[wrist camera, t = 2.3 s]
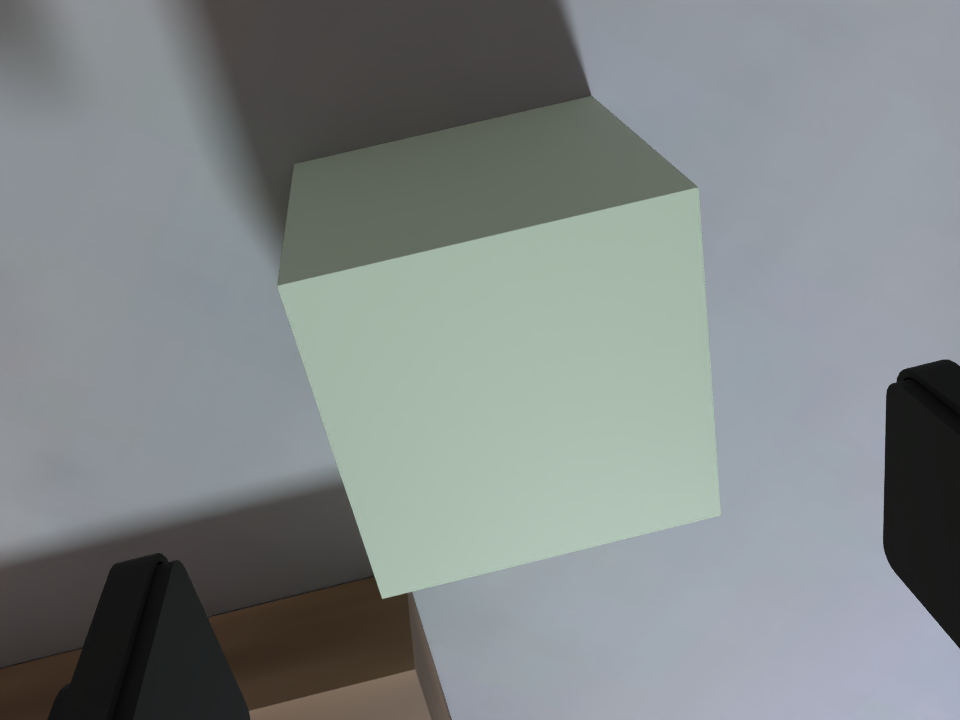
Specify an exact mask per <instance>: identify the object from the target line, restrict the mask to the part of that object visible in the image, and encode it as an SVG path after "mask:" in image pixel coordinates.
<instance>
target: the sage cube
mask: <svg viewBox="0 0 960 720" xmlns="http://www.w3.org/2000/svg"><path fill="white" fill-rule="evenodd" d="M277 287H278V290H279V293H280V296H281V299H282V302H283V305H284V308H285V311H286V314H287V317H288V320H289V323H290V326H291V328H292V331H293V334H294V337H295V340H296V343H297V346H298V349H299V352H300V355H301V358H302V361H303V364H304V367H305V370H306V373H307V376H308V379H309V382H310V385H311V388H312V391H313V394H314V397H315V400H316V403H317V406H318V409H319V412H320V415H321V418H322V421H323V424H324V427H325V430H326V433H327V436H328V439H329V442H330V445H331V448H332V451H333V454H334V457H335V460H336V463H337V466H338V469H339V472H340V475H341V478H342V481H343V484H344V487H345V490H346V492H347V495H348V498H349V501H350V504H351V507H352V510H353V513H354V516H355V519H356V522H357V525H358V528H359V531H360V534H361V537H362V540H363V543H364V546H365V549H366V552H367V555H368V558H369V561H370V564H371V567H372V570H373V573H374V576H375V579H376V582H377V585H378V588H379V591H380V594H381V597H382V599H384V598H388V597H392V596H396V595H400V594H404V593H409V592H413V591H417V590H421V589H425V588H429V587H433V586H437V585H441V584H445V583H449V582H453V581H457V580H461V579H465V578H469V577H473V576H477V575H481V574H485V573H490V572H494V571H498V570H502V569H506V568H510V567H514V566H518V565H522V564H526V563H530V562H534V561H538V560H542V559H546V558H550V557H554V556H558V555H562V554H566V553H570V552H575V551H579V550H583V549H587V548H591V547H595V546H599V545H603V544H607V543H611V542H615V541H619V540H623V539H627V538H631V537H635V536H639V535H643V534H647V533H651V532H655V531H660V530H664V529H668V528H672V527H676V526H680V525H684V524H688V523H692V522H696V521H700V520H704V519H708V518H712V517H716V516H720V515H721V510H720V496H719V481H718V466H717V452H716V437H715V423H714V408H713V393H712V379H711V364H710V350H709V335H708V320H707V306H706V291H705V276H704V262H703V247H702V233H701V218H700V203H699V189H698V187H697V186H696V185H695V184H694V183H693V182H692V181H690V180H689V179H688V178H687V177H686V176H685V175H683V174H682V173H681V172H680V171H679V170H678V169H676V168H675V167H674V166H673V165H672V164H671V163H669V162H668V161H667V160H666V159H665V158H664V157H662V156H661V155H660V154H659V153H658V152H657V151H655V150H654V149H653V148H652V147H651V146H650V145H648V144H647V143H646V142H645V141H644V140H643V139H641V138H640V137H639V136H638V135H637V134H636V133H634V132H633V131H632V130H631V129H630V128H629V127H627V126H626V125H625V124H624V123H623V122H622V121H620V120H619V119H618V118H617V117H616V116H615V115H613V114H612V113H611V112H610V111H609V110H608V109H606V108H605V107H604V106H603V105H602V104H601V103H599V102H598V101H597V100H596V99H595V98H594V97H593V96H589V97H584V98H580V99H576V100H571V101H567V102H562V103H558V104H554V105H549V106H545V107H541V108H536V109H532V110H528V111H523V112H519V113H515V114H510V115H506V116H502V117H497V118H493V119H488V120H484V121H480V122H475V123H471V124H467V125H462V126H458V127H454V128H449V129H445V130H441V131H436V132H432V133H428V134H423V135H419V136H414V137H410V138H406V139H401V140H397V141H393V142H388V143H384V144H380V145H375V146H371V147H367V148H362V149H358V150H354V151H349V152H345V153H340V154H336V155H332V156H327V157H323V158H319V159H314V160H310V161H306V162H301V163H297V164H294V168H293V175H292V182H291V189H290V197H289V204H288V211H287V219H286V226H285V233H284V240H283V248H282V255H281V262H280V269H279V277H278V284H277Z"/></svg>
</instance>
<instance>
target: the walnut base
mask: <svg viewBox="0 0 960 720" xmlns="http://www.w3.org/2000/svg"><path fill="white" fill-rule="evenodd" d="M208 620H209V622H210V624H211V627H212V629H213V631H214V633H215V635H216V638H217V640H218V642H219V644H220V646H221V649H222V651H223V653H224V655H225V657H226V660H227V662H228V664H229V666H230V668H231V671H232V673H233V675H234V677H235V680H236V682H237V684H238V686H239V688H240V691H241V693H242V695H243V697H244V699H245V702H246V704H247V707H248V710H249V714H250V720H452V719H451V716H450V713H449V710H448V706H447V703H446V700H445V697H444V693H443V690H442V687H441V684H440V681H439V677H438V674H437V671H436V668H435V665H434V661H433V658H432V655H431V652H430V648H429V645H428V642H427V639H426V636H425V632H424V629H423V626H422V623H421V619H420V616H419V613H418V610H417V607H416V603H415V600H414V597H413V594H412V592H409V593H404V594H400V595H396V596H392V597H388V598H384V599H382V597H381V594H380V591H379V588H378V585H377V582H376V579H375V577H371V578H367V579H362V580H358V581H354V582H350V583H346V584H342V585H338V586H334V587H330V588H326V589H322V590H318V591H314V592H310V593H306V594H302V595H298V596H294V597H289V598H285V599H281V600H277V601H273V602H269V603H265V604H261V605H257V606H253V607H249V608H245V609H241V610H237V611H233V612H229V613H225V614H221V615H216V616H212V617H208ZM81 651H82V649H79V650H75V651H71V652H66V653H62V654H58V655H54V656H50V657H46V658H42V659H38V660H34V661H30V662H26V663H22V664H18V665H14V666H10V667H6V668H2V669H0V720H47V719H48V716H49V713H50V710H51V708H52V705H53V702H54V700H55V698H56V696H57V694H58V692H59V691H60V690H61V689H62V688H63V687H64V686H65V685H66V684H70V683H71V680H72V677H73V674H74V671H75V669H76V666H77V663H78V660H79V657H80V654H81Z"/></svg>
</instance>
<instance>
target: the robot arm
mask: <svg viewBox="0 0 960 720" xmlns="http://www.w3.org/2000/svg"><path fill="white" fill-rule="evenodd" d="M883 545H884V551H885V554H886V557H887V560H888V562H889V564H890V566H891V567H892V569H893V570H894V572H895V573H896V574H897V575H898V576H899V578H900V579H901V580H902V581H903V582H904V583H905V585H906V586H907V587H908V588H909V589H910V591H911V592H912V593H913V594H914V595H915V596H916V598H917V599H918V600H919V601H920V602H921V603H922V605H923V606H924V607H925V608H926V609H927V611H928V612H929V613H930V614H931V615H932V616H933V618H934V619H935V620H936V621H937V622H938V623H939V625H940V626H941V627H942V628H943V629H944V630H945V632H946V633H947V634H948V635H949V636H950V638H951V639H952V640H953V641H954V642H955V643H956V645H957V646H958V647H959V648H960V366H959V365H958V364H956V363H955V362H953V361H950V360H940V361H936V362H932V363H928V364H923V365H919V366H915V367H911V368H907V369H904V370H902V371H901V372H900V373H899V375H898V377H897V383H893V384H891V385H889V387H888V389H887V395H886V435H885V481H884V527H883ZM47 720H250V714H249V710H248V707H247V704H246V702H245V699H244V697H243V695H242V693H241V691H240V688H239V686H238V684H237V682H236V680H235V677H234V675H233V673H232V671H231V668H230V666H229V664H228V662H227V660H226V657H225V655H224V653H223V651H222V649H221V646H220V644H219V642H218V640H217V638H216V635H215V633H214V631H213V629H212V627H211V624H210V622H209V620H208V618H207V616H206V613H205V611H204V609H203V607H202V605H201V602H200V600H199V598H198V596H197V594H196V591H195V589H194V587H193V585H192V582H191V580H190V578H189V576H188V574H187V571H186V569H185V567H184V566H183V564H182V563H181V562H180V561H178V560H176V561H172V562H168V560H167V558H166V557H165V556H164V555H163V554H160V553H157V554H153V555H148V556H144V557H140V558H136V559H132V560H128V561H124V562H120V563H116V564H115V565H113V566H112V568H111V570H110V572H109V575H108V578H107V580H106V583H105V586H104V589H103V592H102V595H101V597H100V600H99V603H98V606H97V609H96V612H95V615H94V617H93V620H92V623H91V626H90V629H89V632H88V634H87V637H86V640H85V643H84V646H83V649H82V651H81V654H80V657H79V660H78V663H77V666H76V669H75V671H74V674H73V677H72V680H71V683H70V684H66V685H65V686H64V687H63V688H62V689H61V690H60V691H59V692H58V694H57V696H56V698H55V700H54V702H53V705H52V708H51V710H50V713H49V716H48V719H47Z"/></svg>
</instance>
